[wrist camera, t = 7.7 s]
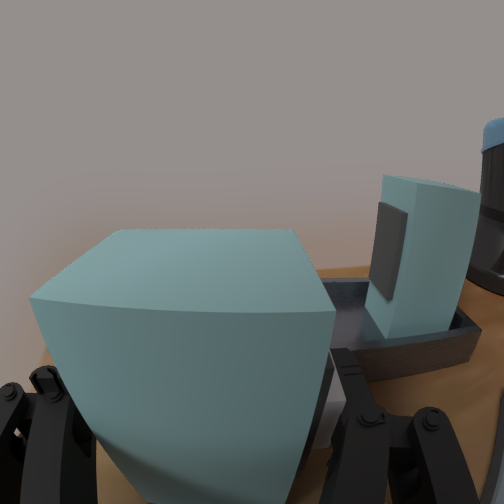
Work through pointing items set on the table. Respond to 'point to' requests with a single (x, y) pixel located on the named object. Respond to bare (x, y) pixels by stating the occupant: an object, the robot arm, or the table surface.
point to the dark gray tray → (395, 349)
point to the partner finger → (420, 255)
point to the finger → (195, 358)
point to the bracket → (496, 467)
